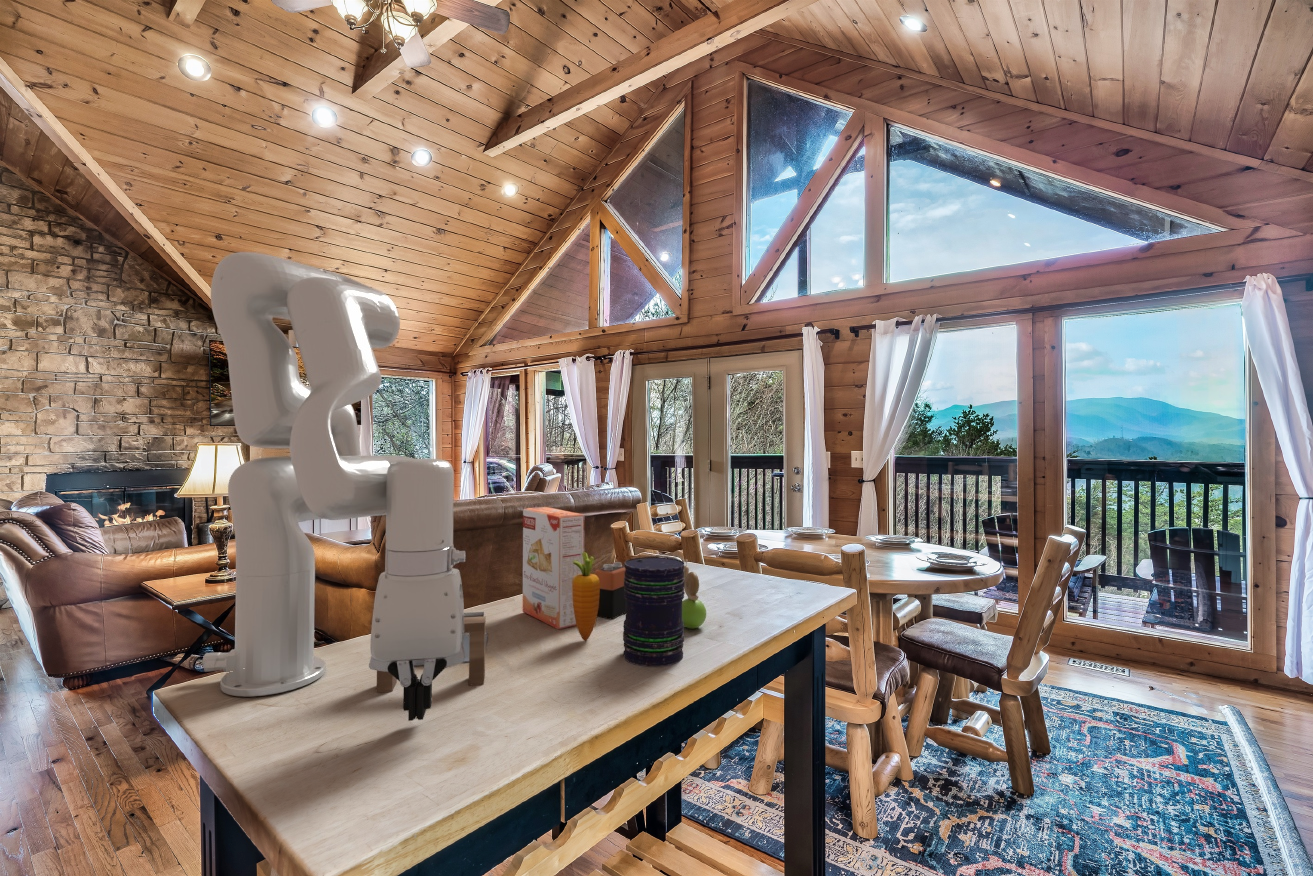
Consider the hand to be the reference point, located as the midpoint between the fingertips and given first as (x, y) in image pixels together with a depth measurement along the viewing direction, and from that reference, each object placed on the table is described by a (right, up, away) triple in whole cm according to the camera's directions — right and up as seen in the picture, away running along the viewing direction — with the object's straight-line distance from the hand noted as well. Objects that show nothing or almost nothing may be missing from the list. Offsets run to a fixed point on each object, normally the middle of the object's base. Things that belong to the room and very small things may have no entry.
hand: (417, 714), depth 72 cm
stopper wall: (-9, -2, +37) cm, 38 cm away
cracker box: (+8, -2, +44) cm, 45 cm away
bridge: (-3, -2, +13) cm, 13 cm away
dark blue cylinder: (+28, -2, +25) cm, 38 cm away
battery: (+20, -2, +48) cm, 52 cm away
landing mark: (-6, -2, +26) cm, 27 cm away
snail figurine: (+35, -2, +40) cm, 53 cm away
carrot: (+16, -2, +32) cm, 36 cm away
